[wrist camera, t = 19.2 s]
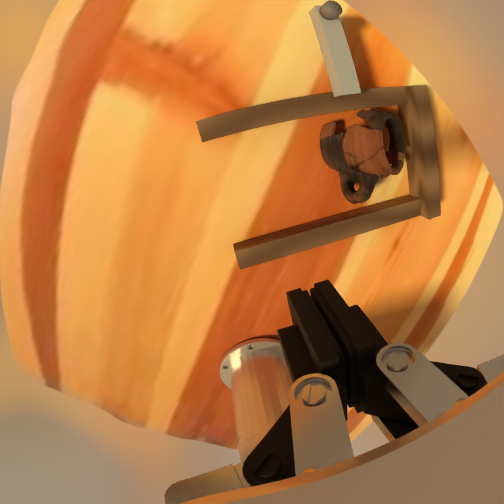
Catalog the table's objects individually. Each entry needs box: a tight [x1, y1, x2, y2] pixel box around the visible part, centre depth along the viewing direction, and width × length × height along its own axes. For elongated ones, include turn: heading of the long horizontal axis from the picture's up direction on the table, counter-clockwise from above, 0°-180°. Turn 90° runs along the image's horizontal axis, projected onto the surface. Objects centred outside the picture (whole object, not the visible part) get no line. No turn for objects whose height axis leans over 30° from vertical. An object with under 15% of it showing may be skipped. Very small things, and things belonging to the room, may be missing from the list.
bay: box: [196, 86, 441, 269], centre depth 32 cm, size 18×28×4 cm, turn 104°
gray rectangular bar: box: [309, 1, 361, 97], centre depth 24 cm, size 11×2×4 cm, turn 14°
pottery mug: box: [320, 107, 405, 204], centre depth 32 cm, size 12×10×8 cm
